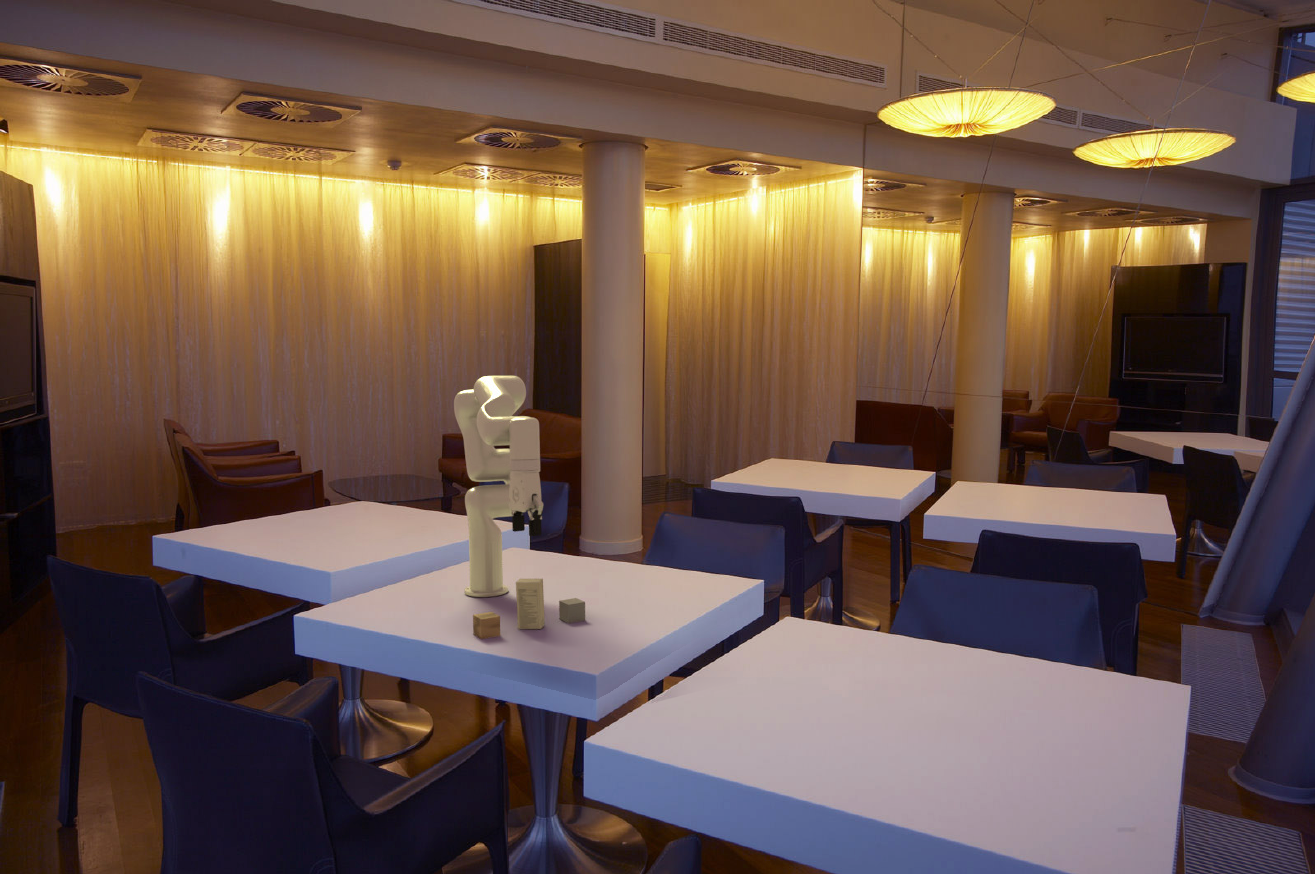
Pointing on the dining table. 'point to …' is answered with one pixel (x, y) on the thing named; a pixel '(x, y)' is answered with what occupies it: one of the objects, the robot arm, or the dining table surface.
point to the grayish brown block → (572, 610)
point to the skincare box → (530, 603)
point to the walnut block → (486, 625)
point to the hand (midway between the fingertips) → (526, 533)
